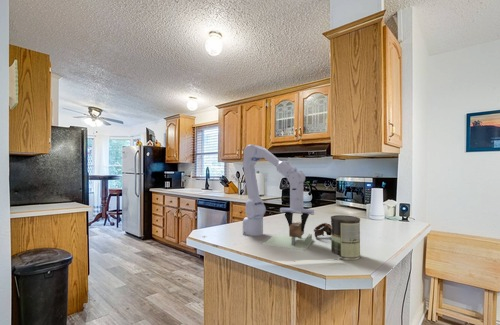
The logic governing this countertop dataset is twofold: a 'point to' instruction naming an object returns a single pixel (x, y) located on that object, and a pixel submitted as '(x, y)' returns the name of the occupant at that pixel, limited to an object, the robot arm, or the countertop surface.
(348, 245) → the coffee can
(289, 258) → the countertop surface
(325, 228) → the brown clay pot
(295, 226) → the brown block
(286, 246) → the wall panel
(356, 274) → the countertop surface
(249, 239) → the countertop surface
